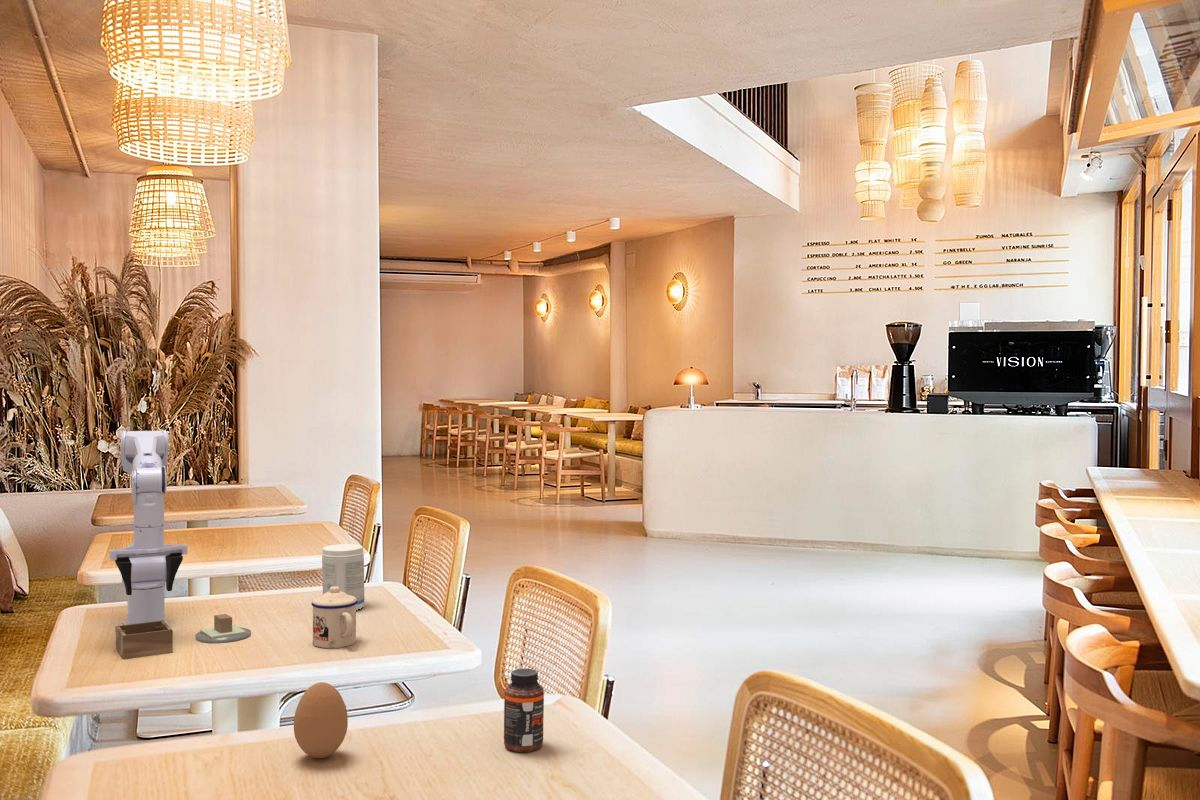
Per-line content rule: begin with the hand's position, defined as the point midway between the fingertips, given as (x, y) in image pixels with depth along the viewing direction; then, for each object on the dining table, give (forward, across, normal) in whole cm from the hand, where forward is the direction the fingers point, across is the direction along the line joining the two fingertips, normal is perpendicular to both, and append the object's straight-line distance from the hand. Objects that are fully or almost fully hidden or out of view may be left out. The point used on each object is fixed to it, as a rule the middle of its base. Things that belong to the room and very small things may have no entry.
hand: (149, 592), depth 210 cm
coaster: (+10, +14, -2) cm, 18 cm away
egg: (+12, +9, -79) cm, 81 cm away
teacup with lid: (+11, +32, -21) cm, 40 cm away
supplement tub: (+10, +44, +9) cm, 46 cm away
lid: (+10, +14, -2) cm, 17 cm away
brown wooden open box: (+10, -2, -5) cm, 12 cm away
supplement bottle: (+13, +36, -91) cm, 99 cm away
